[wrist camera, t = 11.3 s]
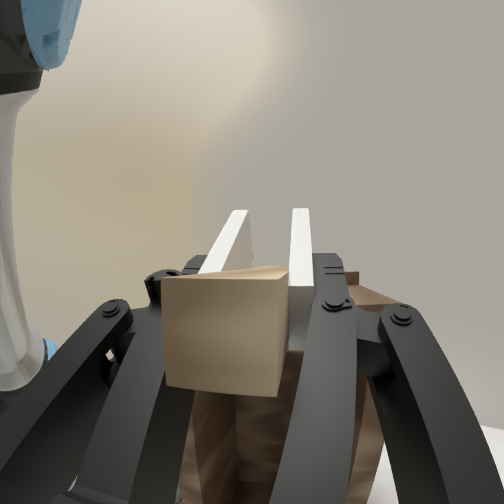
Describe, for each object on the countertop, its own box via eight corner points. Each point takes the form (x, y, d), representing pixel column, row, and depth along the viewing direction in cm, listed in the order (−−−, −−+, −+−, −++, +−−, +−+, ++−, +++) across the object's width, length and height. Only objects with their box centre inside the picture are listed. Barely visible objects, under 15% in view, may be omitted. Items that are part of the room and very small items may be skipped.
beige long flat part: (101, 371, 6) (94, 275, 6) (263, 284, 33) (263, 264, 33) (367, 395, 5) (375, 278, 5) (314, 284, 32) (314, 264, 32)
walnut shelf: (195, 553, 18) (157, 279, 19) (228, 479, 34) (220, 272, 35) (341, 563, 16) (403, 279, 17) (336, 484, 31) (357, 271, 32)
